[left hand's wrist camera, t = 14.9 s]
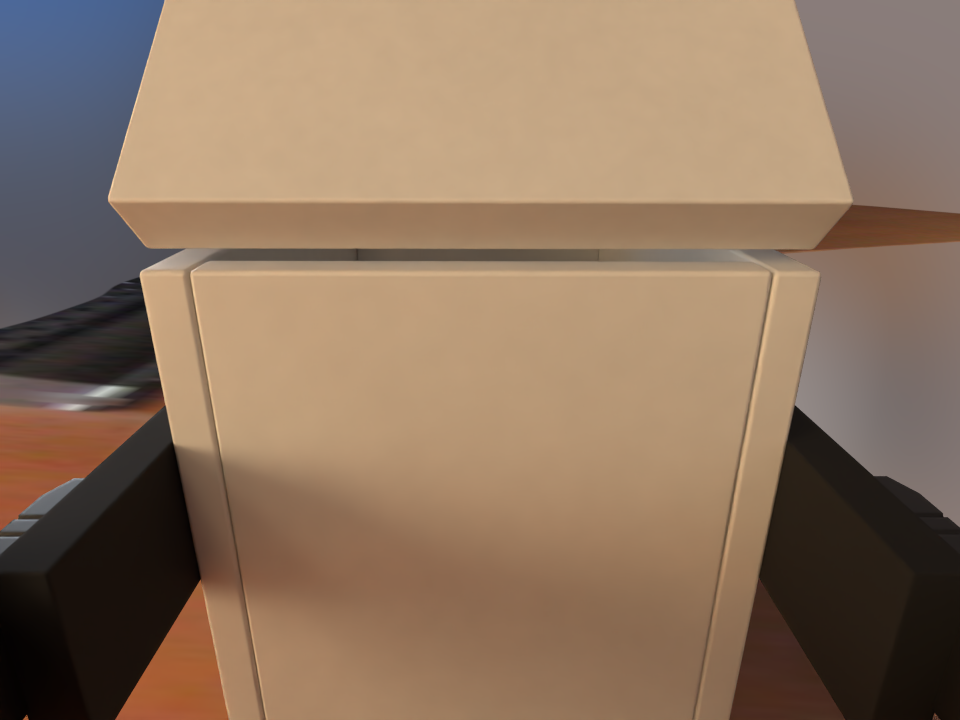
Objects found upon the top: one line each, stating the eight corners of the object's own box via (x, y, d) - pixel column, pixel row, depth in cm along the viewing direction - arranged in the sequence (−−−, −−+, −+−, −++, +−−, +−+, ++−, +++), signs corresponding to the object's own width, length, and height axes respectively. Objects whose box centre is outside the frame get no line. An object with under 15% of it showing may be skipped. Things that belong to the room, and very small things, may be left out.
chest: (355, 454, 25) (333, 174, 21) (598, 454, 25) (622, 174, 21) (241, 791, 13) (135, 270, 9) (717, 788, 13) (825, 271, 9)
